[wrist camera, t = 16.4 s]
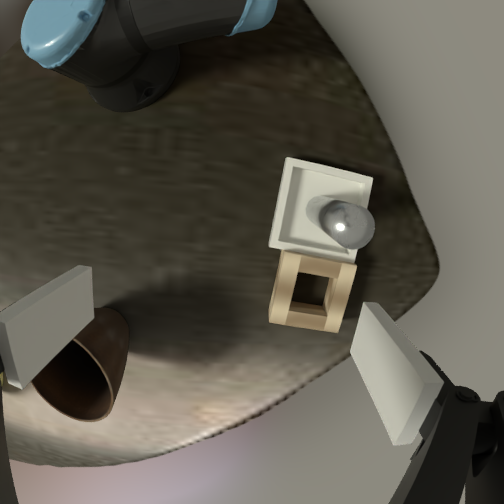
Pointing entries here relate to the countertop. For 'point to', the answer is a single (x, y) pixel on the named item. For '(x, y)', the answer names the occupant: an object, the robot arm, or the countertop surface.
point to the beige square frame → (304, 313)
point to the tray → (295, 201)
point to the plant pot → (87, 369)
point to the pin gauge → (342, 221)
